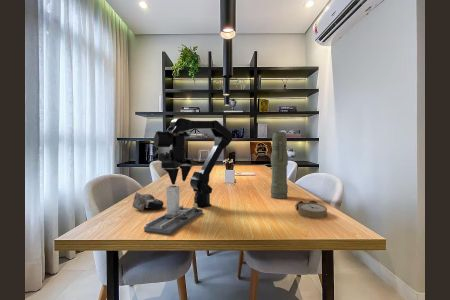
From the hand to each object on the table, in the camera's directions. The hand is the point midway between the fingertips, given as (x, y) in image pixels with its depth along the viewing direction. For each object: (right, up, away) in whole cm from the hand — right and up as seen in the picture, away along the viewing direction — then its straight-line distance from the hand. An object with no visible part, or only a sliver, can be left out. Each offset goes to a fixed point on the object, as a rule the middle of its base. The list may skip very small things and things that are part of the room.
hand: (178, 182), depth 107 cm
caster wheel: (-14, -12, +3) cm, 19 cm away
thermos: (+49, -11, +24) cm, 56 cm away
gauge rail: (+2, -13, -15) cm, 20 cm away
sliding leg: (+2, -11, -15) cm, 19 cm away
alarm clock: (+56, -13, -5) cm, 58 cm away
